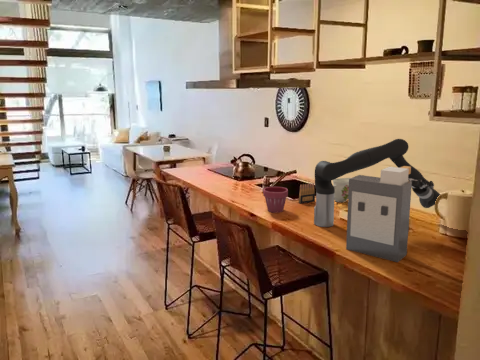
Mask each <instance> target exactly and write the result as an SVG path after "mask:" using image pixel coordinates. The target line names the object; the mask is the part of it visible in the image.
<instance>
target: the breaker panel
mask: <svg viewBox="0 0 480 360" xmlns="http://www.w3.org/2000/svg"><path fill="white" fill-rule="evenodd" d="M349 178H350V179H349V190H348V200H347V216H346V217H347V219H346V221H347V222H346V226H347V227H346V240H345V241H346V244H345V248H346V249H345V250H348V251H351V252H355V253H360V254H364V255H367V256H372V257H376V258H379V259H384V260H388V261H390V262H391V261H392V262H395V263H399V262H400V261H401V260H402V259H404V258H405V257H406V256H407V254H408V240H409V226H410V213H411V212H410V211H411V197H412V182H410V181H406V182H404V183H402V184H400V185H398V184H390V183H383V182H380V176H379V177H378V176H370V175H365V174H364V175H363V174H358V175H356V176H355V175H354V176H353V177H349Z"/></svg>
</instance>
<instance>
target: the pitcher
mask: <svg viewBox="0 0 480 360" xmlns="http://www.w3.org/2000/svg"><path fill="white" fill-rule="evenodd" d="M350 178H351V177H344V178H343V177H342V178H341V177H338V178H336V179H334V180H332V185H333V186H334V188H335V194H334V202H336V203H345V202H346V203H347V202H348V190H349V179H350Z"/></svg>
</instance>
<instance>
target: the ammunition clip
mask: <svg viewBox="0 0 480 360" xmlns="http://www.w3.org/2000/svg"><path fill="white" fill-rule="evenodd" d="M313 202H314V203H316V193H315V182H312V183H310V184H309V182H308V183H305V184H304V183H303V184H300V186H299V195H298V203H299V204H308V203H313Z"/></svg>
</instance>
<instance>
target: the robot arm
mask: <svg viewBox="0 0 480 360" xmlns="http://www.w3.org/2000/svg"><path fill="white" fill-rule="evenodd" d="M408 150H409V143H408V142H407V141H406V139H403V138H395V139H393V140H391V141H389V142H387V143H384V144H382V145H378V146H377V145H376V146H373V147H369V148H367V149H362V150H358V151H356V152H354V153H352V154H350V155H349V156H348V157H347V158H345V159H344V160H340V161H336V162H330V161H327V160H321V161H319V162H317V164H316V165H315V168H314V188H315V189H316V190H315V191H316V193H315V205H314V208H313V209H314V211H313V225H316V226H317V227H322V228H323V227H324V228H330V227H333V226H334V224H335V223H334V221H335V218H334V217H335V200H334V194H335V188H334V186H333V180H334V179H339V178H341V177H342V176H345V175H347V174H350V173H354V172H357V171H360V170H364V169H367V168H369V167H372V166H374V165H377V164H379V163H381V162H382V161H384V160H386V159H390V161H391V162H392V163H393V164H394V165H395V166H396V167H397V168H400V167H403V166H409V167H411V174H408V181H410V182H412V188H411V191H413V193H414V194H415V195H416V196H417V197H418V200H419V204H420V205H421V207H422V208H424V209H430V208H431V207H433V206H435V205H436V204H435V201H436V199H437V197H438V196H439V195H441V193H440V192H439V191H437V190H436V189H434V187H435V184H434V181H432V180H430V181H429V180H428V179H426V178H425V177H424V176H423V174H422V173H421V171H419V170H418V169H417V168H415V166H413V165H412V164H410V163H409V162H408V161H407V160H406V158H405V157H404V155H405V154H406V153H407V152H408Z"/></svg>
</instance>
